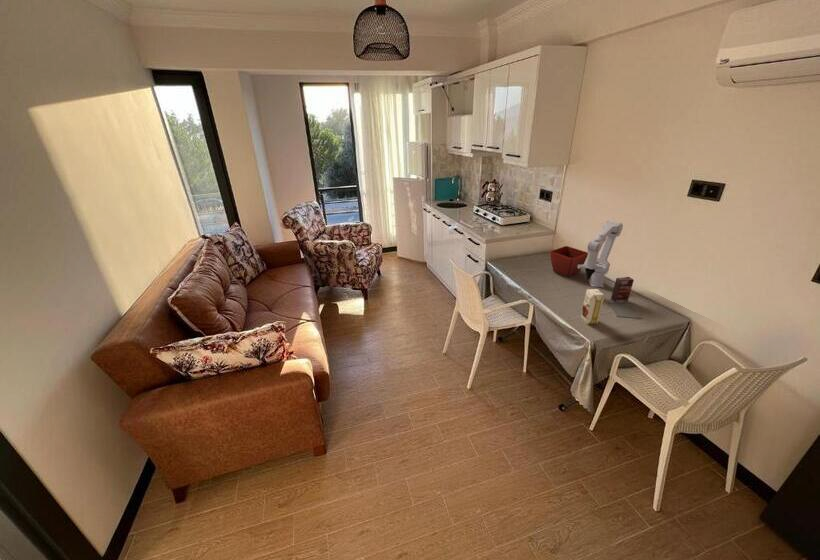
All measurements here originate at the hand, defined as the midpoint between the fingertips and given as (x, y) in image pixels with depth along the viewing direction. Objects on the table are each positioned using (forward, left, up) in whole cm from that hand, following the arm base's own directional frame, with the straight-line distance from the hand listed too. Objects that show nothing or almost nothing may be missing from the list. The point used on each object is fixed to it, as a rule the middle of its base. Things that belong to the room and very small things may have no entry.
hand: (587, 278), depth 215 cm
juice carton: (+36, -5, -11) cm, 38 cm away
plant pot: (-32, -7, -11) cm, 34 cm away
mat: (+21, +18, -10) cm, 29 cm away
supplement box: (+9, +18, -11) cm, 23 cm away
